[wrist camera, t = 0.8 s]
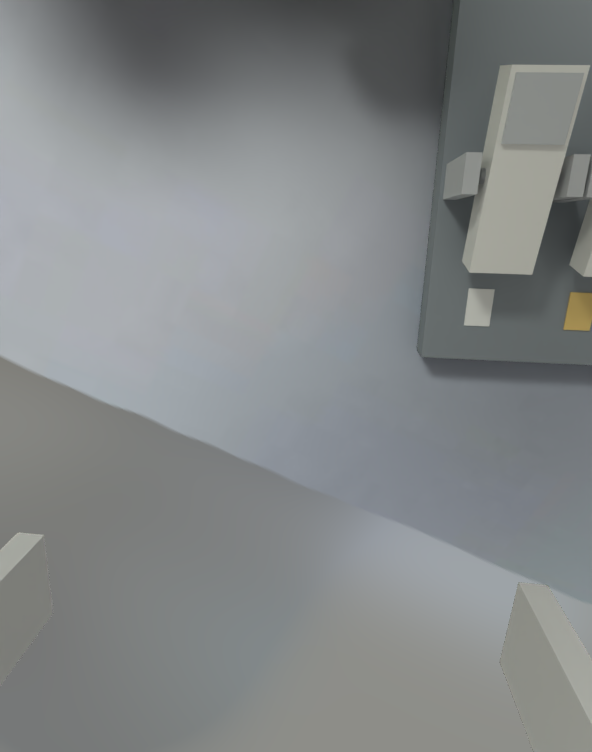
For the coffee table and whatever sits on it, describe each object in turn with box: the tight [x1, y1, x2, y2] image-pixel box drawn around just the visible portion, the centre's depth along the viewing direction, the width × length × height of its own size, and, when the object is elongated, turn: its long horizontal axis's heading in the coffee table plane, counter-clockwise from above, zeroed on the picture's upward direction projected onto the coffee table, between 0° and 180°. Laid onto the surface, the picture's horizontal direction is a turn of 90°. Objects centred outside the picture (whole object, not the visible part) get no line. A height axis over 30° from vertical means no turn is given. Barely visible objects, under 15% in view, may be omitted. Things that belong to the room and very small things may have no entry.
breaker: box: [462, 65, 590, 275], centre depth 26 cm, size 10×4×2 cm, turn 179°
